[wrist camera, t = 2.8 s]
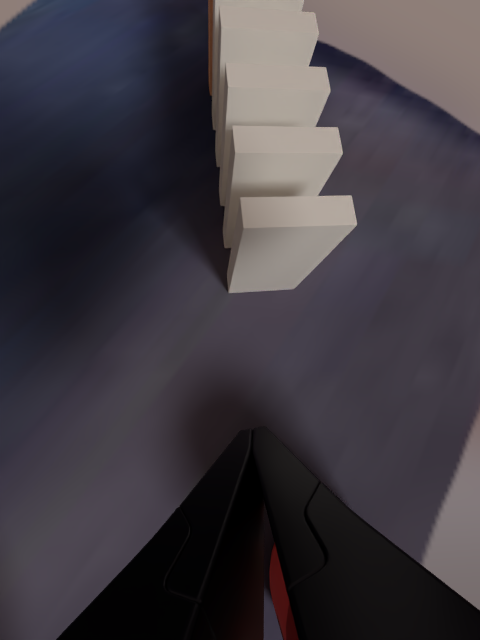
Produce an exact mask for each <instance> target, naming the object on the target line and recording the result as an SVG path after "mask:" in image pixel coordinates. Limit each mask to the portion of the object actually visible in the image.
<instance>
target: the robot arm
mask: <svg viewBox="0 0 480 640" xmlns="http://www.w3.org/2000/svg"><path fill="white" fill-rule="evenodd" d="M264 501H265V506H266V510H267V514H268V518H269V522H270V526H271V530H272V534H273V538H274V542H275V546H276V550H277V554H278V558H279V562H280V566H281V570H282V574H283V579H284V583H285V587H286V591H287V595H288V599H289V603H290V607H291V611H292V615H293V619H294V623H295V627H296V631H297V635H298V639H299V640H480V610H478V609H477V608H476V607H474V606H473V605H472V604H471V603H469V602H468V601H467V600H466V599H464V598H463V597H462V596H460V595H459V594H458V593H457V592H455V591H454V590H452V589H451V588H450V587H449V586H448V585H446V584H445V583H444V582H442V581H441V580H440V579H439V578H437V577H436V576H435V575H434V574H432V573H431V572H430V571H428V570H427V569H426V568H425V567H423V566H422V565H421V564H419V563H418V562H417V561H416V560H414V559H413V558H412V557H410V556H409V555H408V554H407V553H405V552H404V551H403V550H401V549H400V548H399V547H398V546H396V545H395V544H394V543H392V542H391V541H390V540H389V539H387V538H386V537H385V536H383V535H382V534H381V533H380V532H378V531H377V530H376V529H374V528H373V527H372V526H371V525H369V524H368V523H367V522H366V521H364V520H363V519H362V518H361V517H359V516H358V515H357V514H356V513H355V512H353V511H352V510H351V509H350V508H348V507H347V506H346V505H345V504H344V503H343V502H342V501H341V500H340V499H339V498H338V497H336V496H335V495H334V494H333V493H332V492H331V491H330V490H329V489H328V488H327V487H326V486H325V485H324V484H323V483H321V481H320V480H319V479H318V478H317V477H316V476H315V475H314V474H313V473H312V472H311V471H310V470H309V469H308V468H307V467H306V466H305V465H304V464H303V463H302V462H301V461H300V460H299V459H298V458H297V457H296V456H295V455H294V454H293V453H292V452H291V451H290V450H289V449H288V448H287V447H286V446H285V445H284V444H283V443H282V442H281V441H280V440H279V439H278V438H277V437H276V436H275V435H274V434H273V433H272V432H271V431H270V430H269V429H268V428H267V427H265V426H263V427H258V428H254V429H253V430H252V429H247V430H241V431H240V432H239V433H238V434H237V435H236V437H235V438H234V439H233V440H232V442H231V443H230V444H229V445H228V447H227V448H226V449H225V450H224V452H223V453H222V454H221V455H220V456H219V458H218V459H217V460H216V461H215V463H214V464H213V465H212V466H211V468H210V469H209V470H208V471H207V473H206V474H205V475H204V476H203V477H202V479H201V480H200V481H199V482H198V484H197V485H196V486H195V487H194V489H193V490H192V491H191V492H190V494H189V495H188V496H187V497H186V499H185V500H184V501H183V502H182V503H181V505H180V507H178V508H177V509H176V510H175V511H174V513H173V514H172V515H171V516H170V517H169V519H168V520H167V521H166V522H165V523H164V525H163V526H162V527H161V528H160V529H159V530H158V532H157V533H156V534H155V535H154V536H153V538H152V539H151V540H150V541H149V542H148V543H147V544H146V545H145V546H144V547H143V548H142V549H141V551H140V552H139V553H138V554H137V555H136V556H135V557H134V558H133V559H132V560H131V561H130V562H129V563H128V565H127V566H126V567H125V568H124V569H123V570H122V571H121V572H120V573H119V574H118V575H117V576H116V577H115V578H114V579H113V580H112V581H111V582H110V583H109V584H108V586H107V587H106V588H105V589H104V590H103V591H102V592H101V593H100V594H99V595H98V596H97V597H96V598H95V599H94V600H93V601H92V602H91V603H90V604H89V605H88V607H87V608H86V609H85V610H84V611H83V612H82V613H81V614H80V615H79V616H78V617H77V618H76V619H75V620H74V621H73V622H72V623H71V624H70V625H69V626H68V628H67V629H66V630H65V631H64V632H63V633H62V634H61V635H60V636H59V637H58V638H57V639H56V640H263V636H264Z"/></svg>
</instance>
